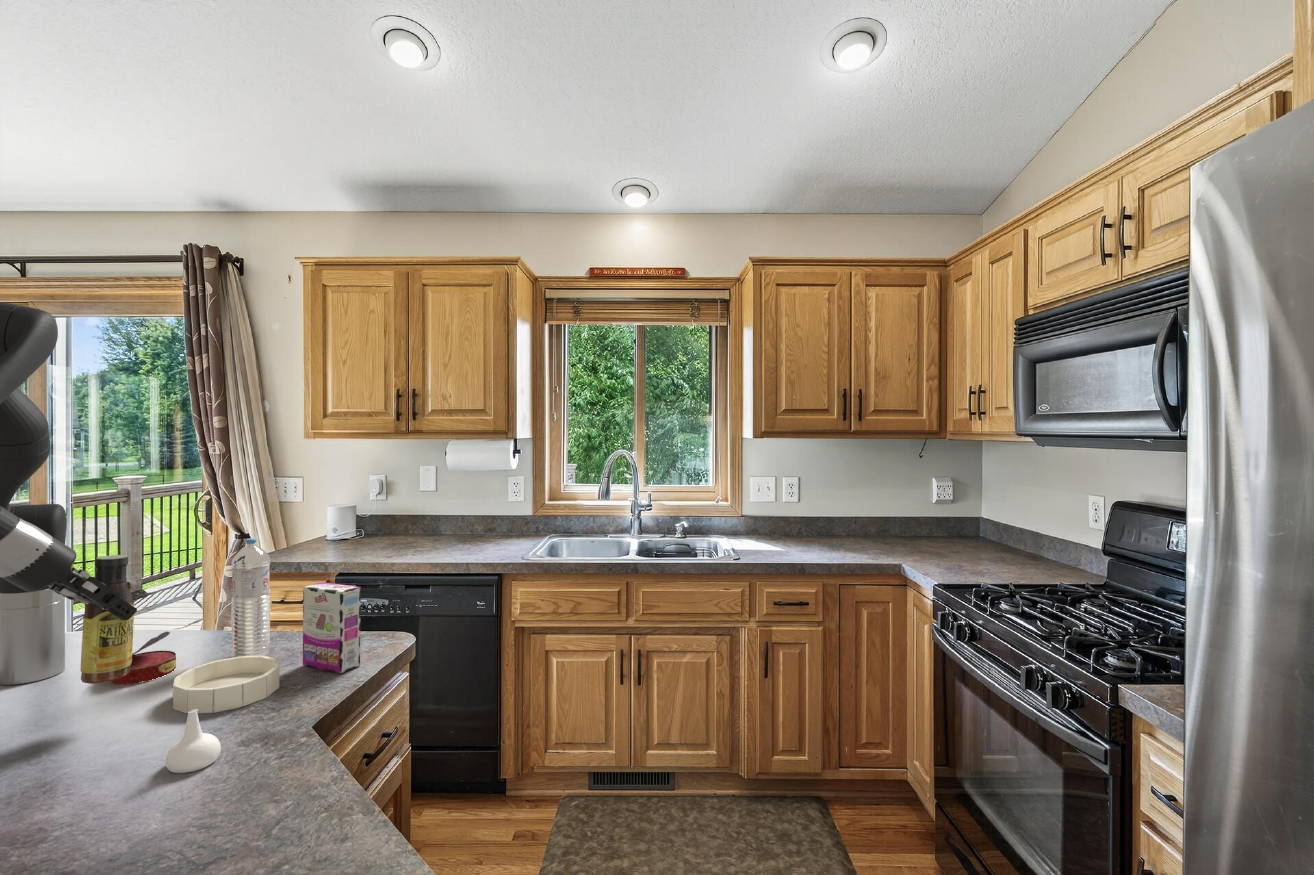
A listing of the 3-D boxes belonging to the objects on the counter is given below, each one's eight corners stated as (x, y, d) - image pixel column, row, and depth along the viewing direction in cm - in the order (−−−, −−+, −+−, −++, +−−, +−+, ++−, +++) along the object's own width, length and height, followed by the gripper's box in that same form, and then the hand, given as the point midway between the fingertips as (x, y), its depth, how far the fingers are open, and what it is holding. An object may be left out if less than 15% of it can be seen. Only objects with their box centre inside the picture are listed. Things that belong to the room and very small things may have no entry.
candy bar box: (362, 666, 124) (362, 586, 124) (341, 675, 119) (341, 592, 119) (322, 657, 128) (323, 580, 128) (301, 666, 124) (301, 586, 123)
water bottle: (255, 662, 125) (256, 542, 125) (223, 662, 125) (223, 541, 125) (277, 650, 132) (277, 536, 132) (246, 650, 132) (246, 536, 132)
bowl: (154, 702, 107) (154, 679, 107) (246, 670, 121) (246, 650, 121) (206, 720, 100) (206, 696, 100) (297, 685, 114) (297, 664, 114)
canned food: (135, 709, 114) (104, 672, 110) (115, 690, 120) (85, 654, 115) (198, 665, 122) (172, 629, 118) (177, 649, 128) (152, 614, 123)
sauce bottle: (100, 687, 95) (102, 562, 95) (69, 683, 97) (71, 559, 96) (143, 671, 102) (145, 554, 102) (113, 667, 103) (115, 551, 103)
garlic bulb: (206, 752, 92) (203, 698, 92) (230, 758, 89) (227, 703, 89) (157, 773, 86) (154, 716, 86) (181, 780, 83) (178, 721, 84)
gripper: (70, 538, 89) (163, 598, 100) (25, 529, 95) (117, 587, 106) (20, 582, 84) (124, 640, 95) (-23, 569, 90) (78, 625, 101)
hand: (120, 612), depth 101 cm, fingers closed on sauce bottle, 6 cm apart
